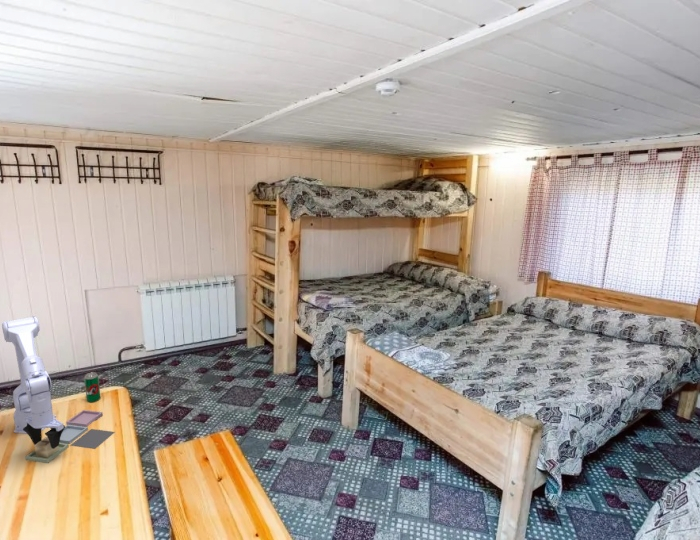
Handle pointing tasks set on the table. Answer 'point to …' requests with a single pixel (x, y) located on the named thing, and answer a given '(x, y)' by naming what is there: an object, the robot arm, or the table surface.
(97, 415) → the tray far
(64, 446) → the tray near
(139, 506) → the table surface
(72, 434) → the tray mid
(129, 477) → the table surface
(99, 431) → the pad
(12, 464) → the table surface
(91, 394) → the soda can
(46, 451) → the letter cube
